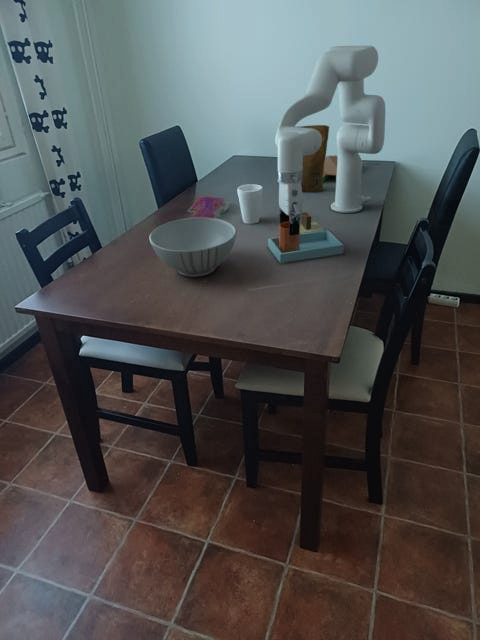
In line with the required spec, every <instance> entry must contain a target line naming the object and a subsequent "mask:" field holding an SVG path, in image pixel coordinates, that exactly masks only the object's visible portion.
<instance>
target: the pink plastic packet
mask: <svg viewBox="0 0 480 640" xmlns="http://www.w3.org/2000/svg"><path fill="white" fill-rule="evenodd" d="M228 201H229V200H228V198H227V197H214V196H213V197H212V196H200V197H199V198H198V199H197V200H196V201H195V202H194V203H193V204H192V206H190V208H188V209H187V213H193V214H192V216H191V217H190V218H197V217H206V218H216V219H219V218H221V216H222V214H225V213H226V212H227V210H228V208H229V207H230V205H231V204H232V203H230V202H228ZM221 212H222V214H221Z"/></svg>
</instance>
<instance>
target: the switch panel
mask: <svg viewBox="0 0 480 640" xmlns="http://www.w3.org/2000/svg"><path fill="white" fill-rule="evenodd" d="M299 224H300V234H303V233H310V232H317V231H324V228H323V227H322V226H320V224H318V223H317V221H313V222H312V221H311V229H308V230H306V229H305V228H304V227H303V226H302V225H301V223H299Z"/></svg>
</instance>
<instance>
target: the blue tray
mask: <svg viewBox="0 0 480 640" xmlns="http://www.w3.org/2000/svg"><path fill="white" fill-rule="evenodd" d="M267 243H268V245H267V246H268V249H269V250H270V251H271V253H272V254H273V255H274V256H275V258H276V259H277V261H278V262H279V263H280V264H284V263H290V262H291V263H292V262H298V261H302V260H309V259H316V258H323V257H330V256H336V255H342V254H344V250H345V249H344V248H345V245H344V243H343V242H342V241H340V240H339V239H338V237H336V236H335V235H334V234H333V233H332V232H330V231H329V230H328V229H325V230H324V231H317V232H310V233H303V234H300V250H299V251H293V252H286V253H282V252H281V251H280V250H279V236H276V237H269V238H267Z"/></svg>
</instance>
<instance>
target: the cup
mask: <svg viewBox="0 0 480 640" xmlns="http://www.w3.org/2000/svg"><path fill="white" fill-rule="evenodd" d="M289 223H290V220H289V221H288V222H283V223H280V222H279V225H278V237H279V250H280V251H281V252H282V253H286V252H293V251H299V250H300V224H301V223H299V234H298V235H289Z"/></svg>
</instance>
